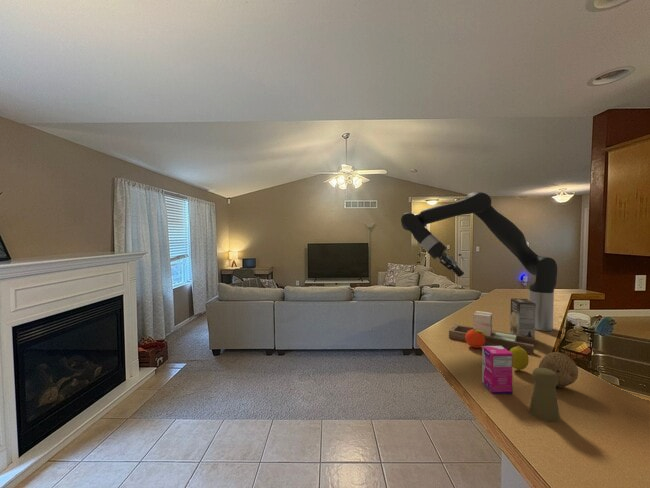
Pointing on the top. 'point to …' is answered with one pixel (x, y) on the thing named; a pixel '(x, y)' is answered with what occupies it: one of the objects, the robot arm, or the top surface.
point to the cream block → (483, 322)
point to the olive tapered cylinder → (545, 395)
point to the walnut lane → (496, 338)
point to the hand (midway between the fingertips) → (461, 275)
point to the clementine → (475, 338)
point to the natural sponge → (561, 368)
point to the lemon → (519, 358)
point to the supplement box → (497, 369)
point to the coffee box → (522, 317)
